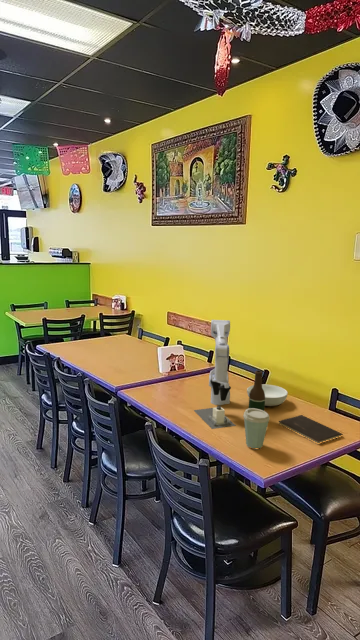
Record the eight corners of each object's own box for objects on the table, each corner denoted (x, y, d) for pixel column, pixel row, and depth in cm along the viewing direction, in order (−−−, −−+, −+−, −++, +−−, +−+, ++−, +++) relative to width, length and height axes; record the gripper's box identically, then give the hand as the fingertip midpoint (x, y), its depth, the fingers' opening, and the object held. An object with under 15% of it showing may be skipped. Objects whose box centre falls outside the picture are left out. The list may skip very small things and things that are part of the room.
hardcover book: (317, 446, 174) (318, 441, 174) (278, 425, 194) (278, 420, 193) (342, 438, 183) (343, 433, 182) (302, 419, 202) (302, 414, 202)
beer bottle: (251, 424, 193) (254, 374, 189) (244, 417, 200) (247, 369, 196) (266, 422, 195) (270, 373, 191) (259, 416, 202) (262, 368, 198)
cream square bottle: (220, 419, 194) (220, 404, 193) (224, 422, 190) (224, 408, 189) (212, 420, 193) (213, 405, 192) (216, 423, 189) (216, 408, 188)
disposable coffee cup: (264, 440, 177) (266, 407, 174) (270, 452, 166) (273, 417, 164) (239, 440, 177) (241, 406, 174) (244, 452, 166) (246, 417, 163)
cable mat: (215, 409, 209) (215, 407, 209) (236, 427, 188) (236, 425, 188) (193, 412, 205) (193, 410, 204) (211, 431, 184) (212, 428, 184)
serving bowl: (264, 393, 234) (265, 381, 233) (294, 405, 218) (296, 392, 217) (238, 400, 222) (238, 388, 221) (267, 413, 206) (268, 400, 204)
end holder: (222, 417, 196) (222, 413, 196) (229, 424, 190) (229, 419, 189) (207, 419, 194) (208, 415, 193) (214, 425, 187) (214, 421, 187)
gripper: (207, 366, 202) (205, 393, 204) (220, 375, 188) (218, 403, 191) (220, 365, 204) (218, 391, 207) (234, 374, 191) (232, 402, 193)
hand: (219, 397), depth 199 cm, fingers open, 7 cm apart
